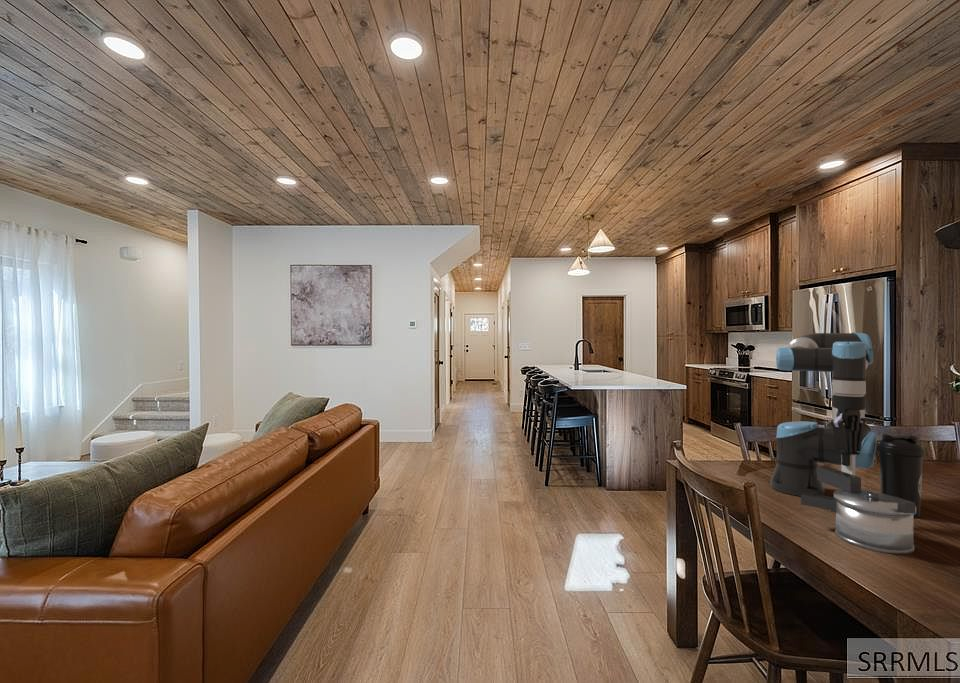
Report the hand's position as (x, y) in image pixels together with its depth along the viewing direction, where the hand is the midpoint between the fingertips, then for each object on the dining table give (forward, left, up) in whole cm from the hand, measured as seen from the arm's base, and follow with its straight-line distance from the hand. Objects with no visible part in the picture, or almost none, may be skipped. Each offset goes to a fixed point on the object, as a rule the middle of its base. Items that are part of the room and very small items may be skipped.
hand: (848, 476), depth 131 cm
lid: (+3, -12, -3) cm, 13 cm away
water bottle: (+11, +16, -12) cm, 24 cm away
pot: (+2, -15, -12) cm, 19 cm away
